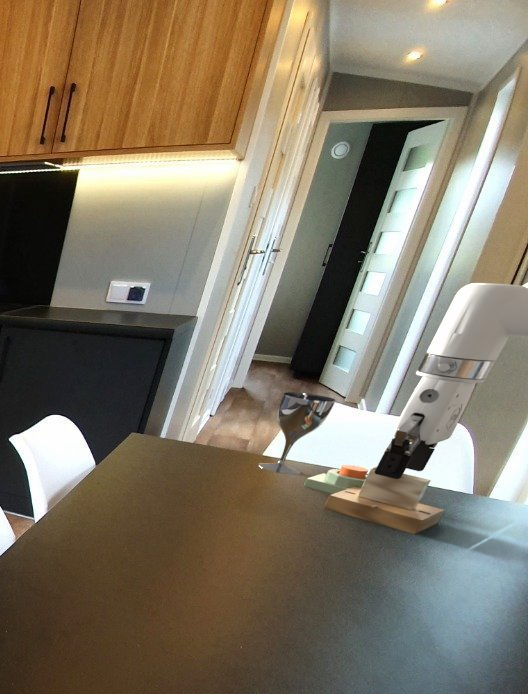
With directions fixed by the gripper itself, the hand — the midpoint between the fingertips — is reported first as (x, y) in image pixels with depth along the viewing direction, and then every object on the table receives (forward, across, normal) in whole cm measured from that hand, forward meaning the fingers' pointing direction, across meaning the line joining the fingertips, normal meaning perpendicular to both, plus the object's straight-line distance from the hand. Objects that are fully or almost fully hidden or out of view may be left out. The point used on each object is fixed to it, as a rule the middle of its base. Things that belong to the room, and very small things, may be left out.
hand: (398, 472), depth 106 cm
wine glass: (+8, +14, +20) cm, 26 cm away
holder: (+5, 0, 0) cm, 5 cm away
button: (+5, +9, +8) cm, 13 cm away
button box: (+8, +9, +8) cm, 14 cm away
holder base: (+8, 0, 0) cm, 8 cm away
